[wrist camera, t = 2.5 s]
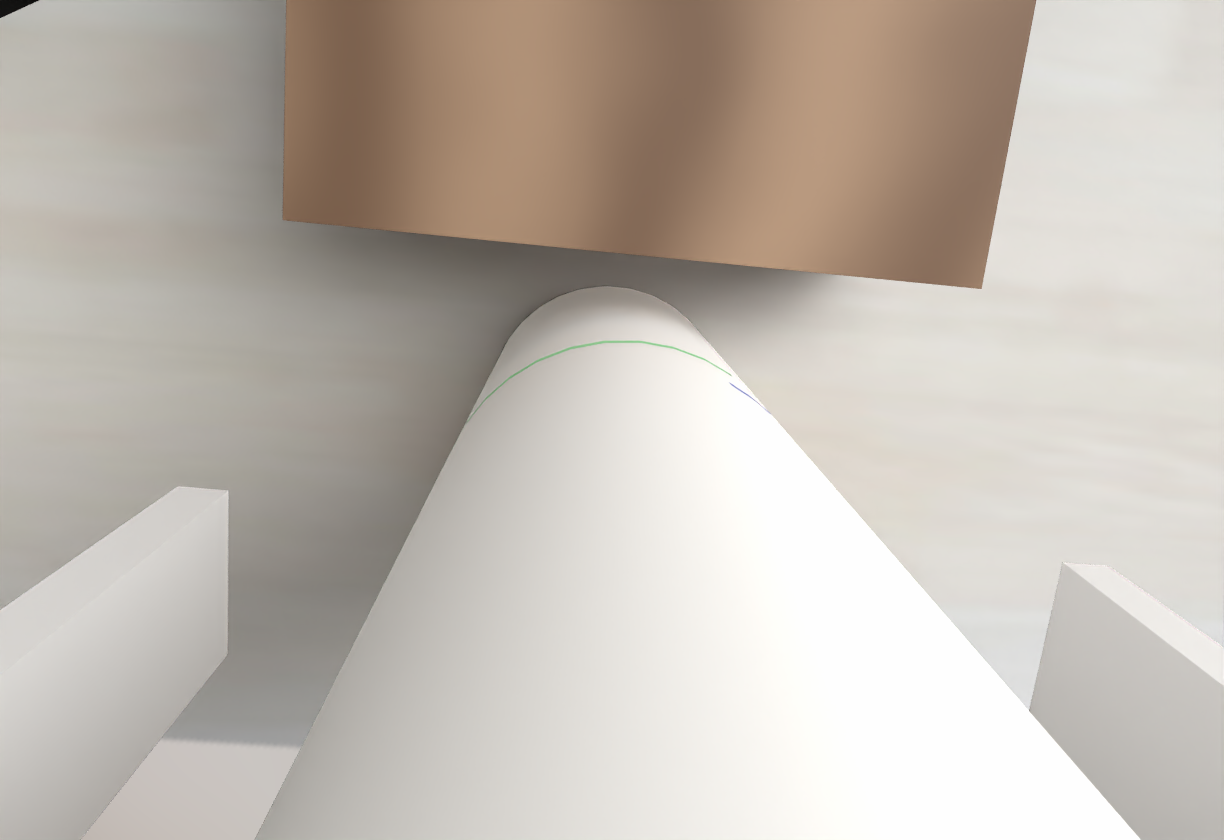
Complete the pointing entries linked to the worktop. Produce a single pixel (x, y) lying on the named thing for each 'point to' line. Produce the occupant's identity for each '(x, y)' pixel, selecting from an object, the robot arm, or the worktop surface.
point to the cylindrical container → (660, 634)
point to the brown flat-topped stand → (663, 126)
